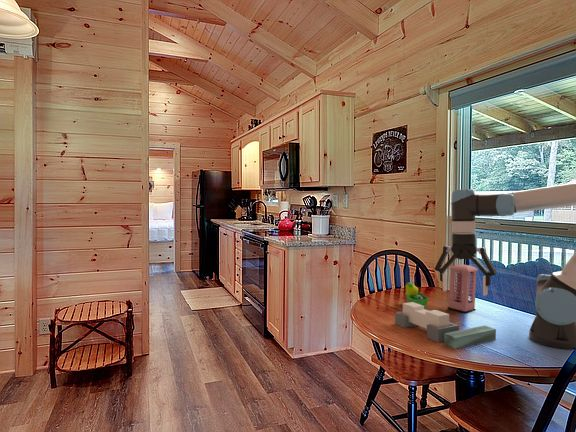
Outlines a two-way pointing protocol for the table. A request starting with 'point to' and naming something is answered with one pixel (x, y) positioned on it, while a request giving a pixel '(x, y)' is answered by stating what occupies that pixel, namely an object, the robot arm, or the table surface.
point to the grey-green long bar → (469, 336)
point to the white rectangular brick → (425, 316)
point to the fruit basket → (415, 295)
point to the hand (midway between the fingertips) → (464, 292)
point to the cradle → (432, 331)
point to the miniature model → (462, 288)
